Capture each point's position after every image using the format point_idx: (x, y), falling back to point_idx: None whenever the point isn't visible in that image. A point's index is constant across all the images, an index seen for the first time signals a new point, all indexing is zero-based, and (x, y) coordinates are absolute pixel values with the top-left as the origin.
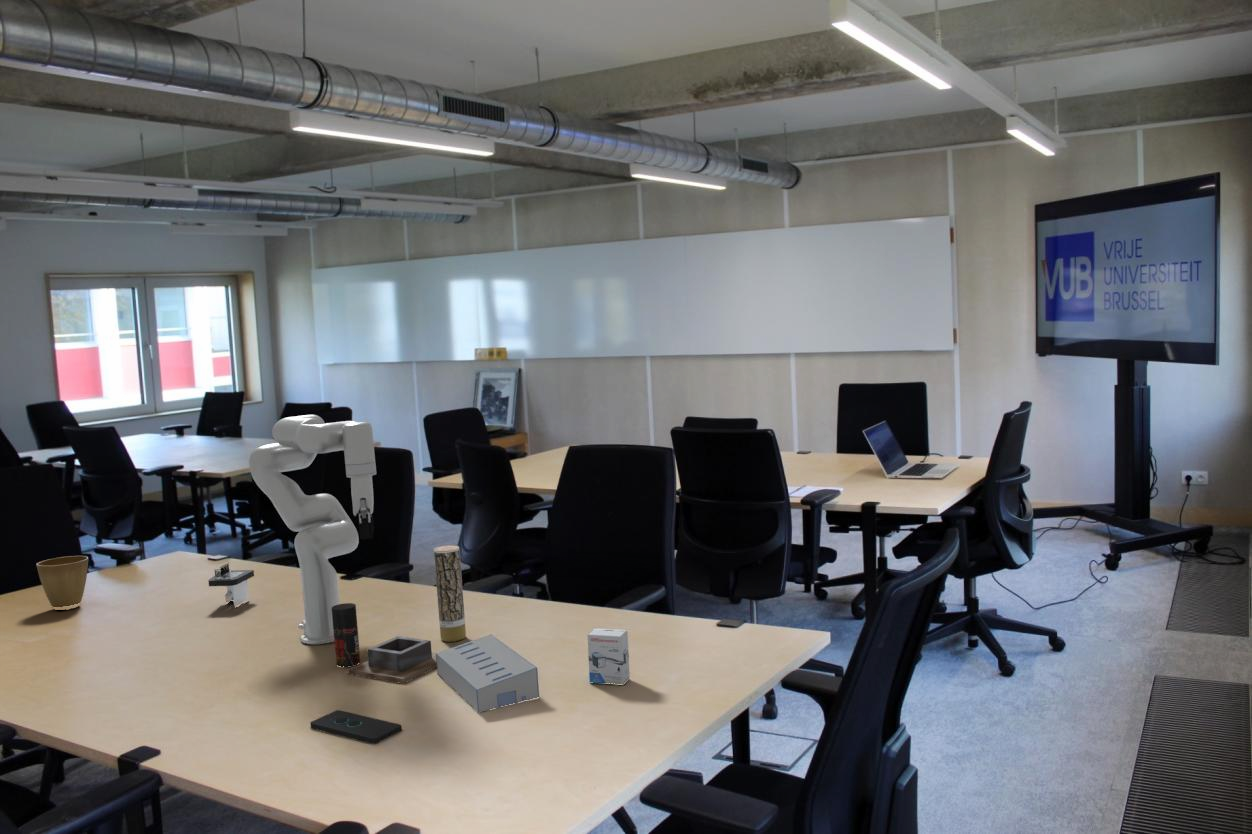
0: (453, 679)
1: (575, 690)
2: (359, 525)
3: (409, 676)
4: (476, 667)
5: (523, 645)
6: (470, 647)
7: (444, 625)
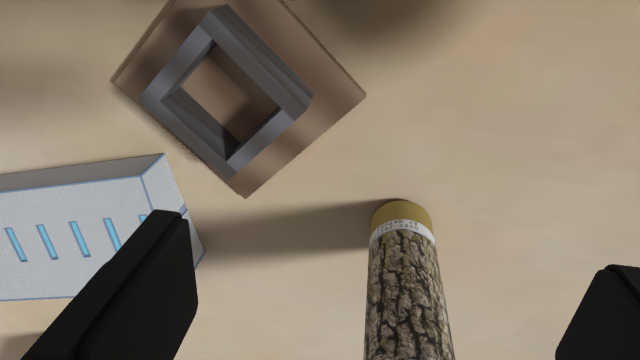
0: (54, 176)
1: (46, 309)
2: (53, 337)
3: (132, 97)
4: (18, 226)
5: (283, 312)
6: None
7: (380, 228)
